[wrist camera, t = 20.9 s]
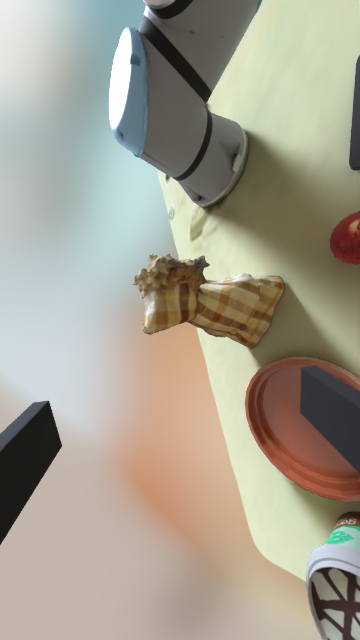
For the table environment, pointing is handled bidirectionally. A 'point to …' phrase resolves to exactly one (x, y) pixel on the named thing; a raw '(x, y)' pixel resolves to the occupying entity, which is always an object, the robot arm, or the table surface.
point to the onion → (347, 239)
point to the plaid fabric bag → (207, 299)
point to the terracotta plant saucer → (298, 429)
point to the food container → (337, 581)
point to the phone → (356, 123)
